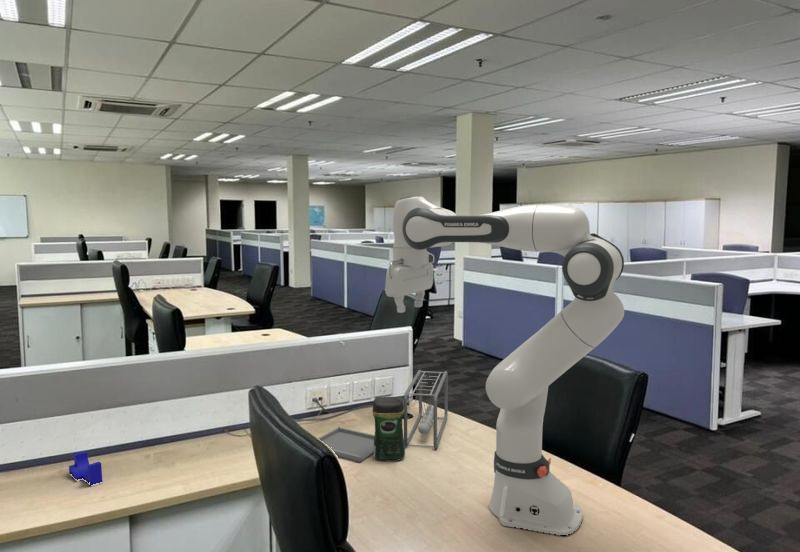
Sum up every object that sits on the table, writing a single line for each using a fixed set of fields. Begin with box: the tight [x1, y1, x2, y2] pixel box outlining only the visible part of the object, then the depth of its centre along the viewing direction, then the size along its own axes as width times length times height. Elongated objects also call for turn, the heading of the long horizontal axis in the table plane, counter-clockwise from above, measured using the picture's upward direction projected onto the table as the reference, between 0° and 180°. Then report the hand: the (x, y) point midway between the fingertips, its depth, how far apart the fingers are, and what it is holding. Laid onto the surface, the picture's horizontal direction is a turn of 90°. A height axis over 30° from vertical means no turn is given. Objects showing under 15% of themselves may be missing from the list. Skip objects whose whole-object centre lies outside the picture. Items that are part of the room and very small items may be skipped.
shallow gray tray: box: [318, 426, 375, 464], centre depth 181 cm, size 20×16×2 cm
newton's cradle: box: [403, 369, 449, 450], centre depth 192 cm, size 30×10×18 cm, turn 169°
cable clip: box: [68, 450, 103, 485], centre depth 160 cm, size 12×4×6 cm, turn 47°
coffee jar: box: [372, 396, 406, 462], centre depth 173 cm, size 10×8×19 cm
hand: (410, 309), depth 153 cm, fingers open, 8 cm apart
